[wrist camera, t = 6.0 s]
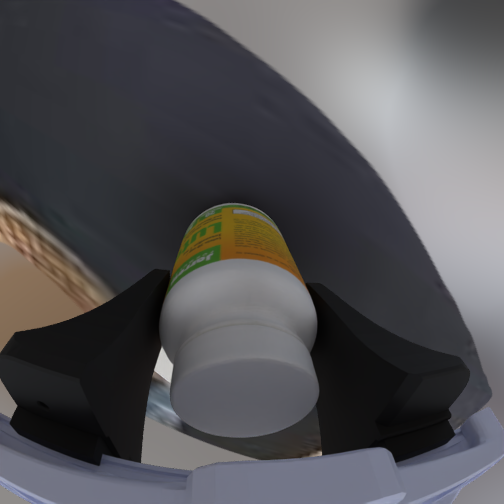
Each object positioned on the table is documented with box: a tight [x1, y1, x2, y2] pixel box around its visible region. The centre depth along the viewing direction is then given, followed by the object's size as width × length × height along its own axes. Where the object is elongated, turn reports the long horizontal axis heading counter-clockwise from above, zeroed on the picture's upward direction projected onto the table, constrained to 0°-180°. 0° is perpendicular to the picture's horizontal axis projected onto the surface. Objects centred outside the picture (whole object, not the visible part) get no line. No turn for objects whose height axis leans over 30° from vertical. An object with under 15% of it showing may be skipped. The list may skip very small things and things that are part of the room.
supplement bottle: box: [159, 203, 319, 437], centre depth 11 cm, size 5×5×10 cm
